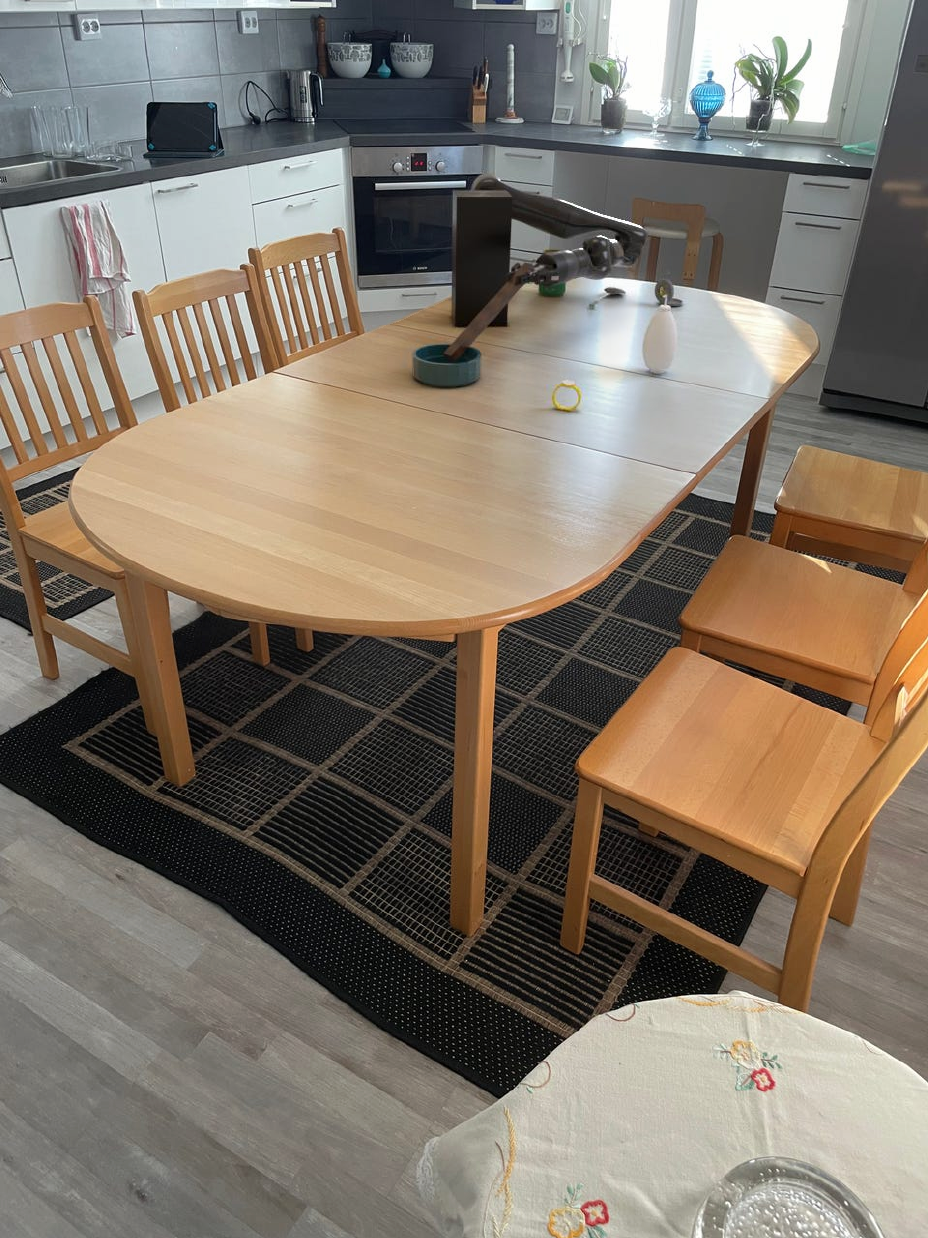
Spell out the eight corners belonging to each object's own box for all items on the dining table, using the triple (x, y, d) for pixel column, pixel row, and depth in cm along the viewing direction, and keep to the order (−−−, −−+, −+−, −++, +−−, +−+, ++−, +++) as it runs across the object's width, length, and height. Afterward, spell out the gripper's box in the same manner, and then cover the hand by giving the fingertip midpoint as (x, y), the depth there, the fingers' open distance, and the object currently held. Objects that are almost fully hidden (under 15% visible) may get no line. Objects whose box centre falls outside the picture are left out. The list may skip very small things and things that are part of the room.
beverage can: (568, 292, 283) (571, 250, 277) (559, 298, 277) (562, 255, 271) (543, 289, 286) (546, 247, 279) (534, 295, 280) (536, 252, 273)
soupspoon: (629, 296, 283) (608, 295, 286) (629, 285, 281) (609, 283, 284) (601, 310, 266) (580, 308, 269) (602, 298, 264) (580, 295, 267)
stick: (527, 270, 225) (524, 261, 223) (535, 272, 224) (532, 263, 222) (446, 361, 216) (443, 353, 214) (454, 363, 215) (450, 355, 213)
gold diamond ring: (550, 410, 199) (552, 382, 196) (552, 405, 201) (554, 378, 198) (578, 413, 198) (580, 385, 194) (580, 408, 200) (582, 381, 197)
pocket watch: (683, 302, 276) (688, 267, 270) (679, 309, 269) (684, 273, 264) (655, 299, 278) (660, 264, 272) (650, 306, 271) (655, 270, 266)
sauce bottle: (666, 366, 225) (677, 289, 215) (678, 377, 218) (689, 297, 209) (635, 367, 224) (644, 290, 214) (646, 378, 217) (656, 298, 208)
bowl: (398, 377, 215) (397, 353, 212) (445, 362, 225) (445, 339, 222) (447, 393, 206) (447, 369, 203) (494, 377, 216) (495, 353, 213)
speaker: (501, 316, 260) (506, 190, 242) (507, 326, 251) (512, 196, 234) (451, 316, 258) (452, 190, 241) (455, 327, 250) (456, 196, 233)
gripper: (578, 288, 229) (533, 301, 219) (534, 278, 237) (488, 290, 226) (581, 256, 225) (535, 267, 214) (536, 247, 233) (489, 257, 222)
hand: (511, 279), depth 220 cm, fingers closed on stick, 2 cm apart
